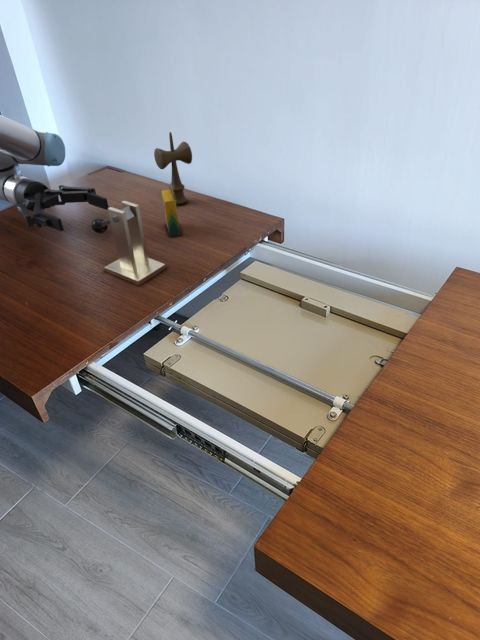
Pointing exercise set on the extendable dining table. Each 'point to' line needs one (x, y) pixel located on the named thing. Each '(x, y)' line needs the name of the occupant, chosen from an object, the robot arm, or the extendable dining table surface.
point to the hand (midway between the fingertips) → (84, 214)
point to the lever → (108, 221)
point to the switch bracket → (131, 247)
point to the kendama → (174, 165)
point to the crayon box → (170, 212)
